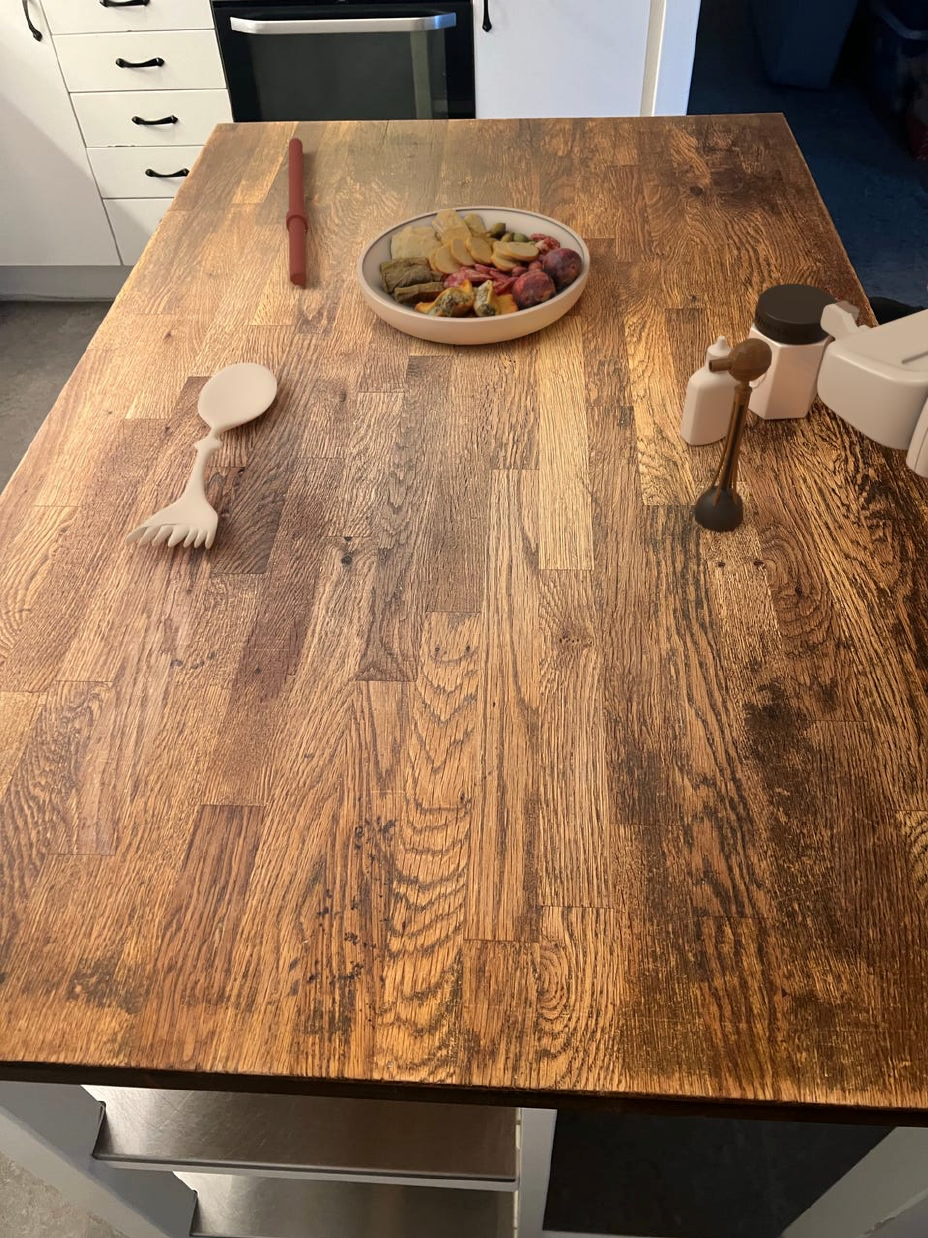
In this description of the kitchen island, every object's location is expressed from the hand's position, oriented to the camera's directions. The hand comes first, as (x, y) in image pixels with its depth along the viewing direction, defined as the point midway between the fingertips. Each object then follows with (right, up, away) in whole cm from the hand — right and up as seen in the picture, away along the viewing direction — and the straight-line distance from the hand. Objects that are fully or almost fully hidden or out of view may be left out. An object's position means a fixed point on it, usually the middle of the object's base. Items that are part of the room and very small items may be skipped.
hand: (884, 293), depth 67 cm
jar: (+6, +2, +42) cm, 43 cm away
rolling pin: (-54, +38, +79) cm, 103 cm away
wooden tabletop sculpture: (-4, -12, +30) cm, 32 cm away
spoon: (-57, -6, +39) cm, 69 cm away
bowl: (-28, +20, +61) cm, 70 cm away
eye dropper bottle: (-3, -3, +39) cm, 39 cm away
